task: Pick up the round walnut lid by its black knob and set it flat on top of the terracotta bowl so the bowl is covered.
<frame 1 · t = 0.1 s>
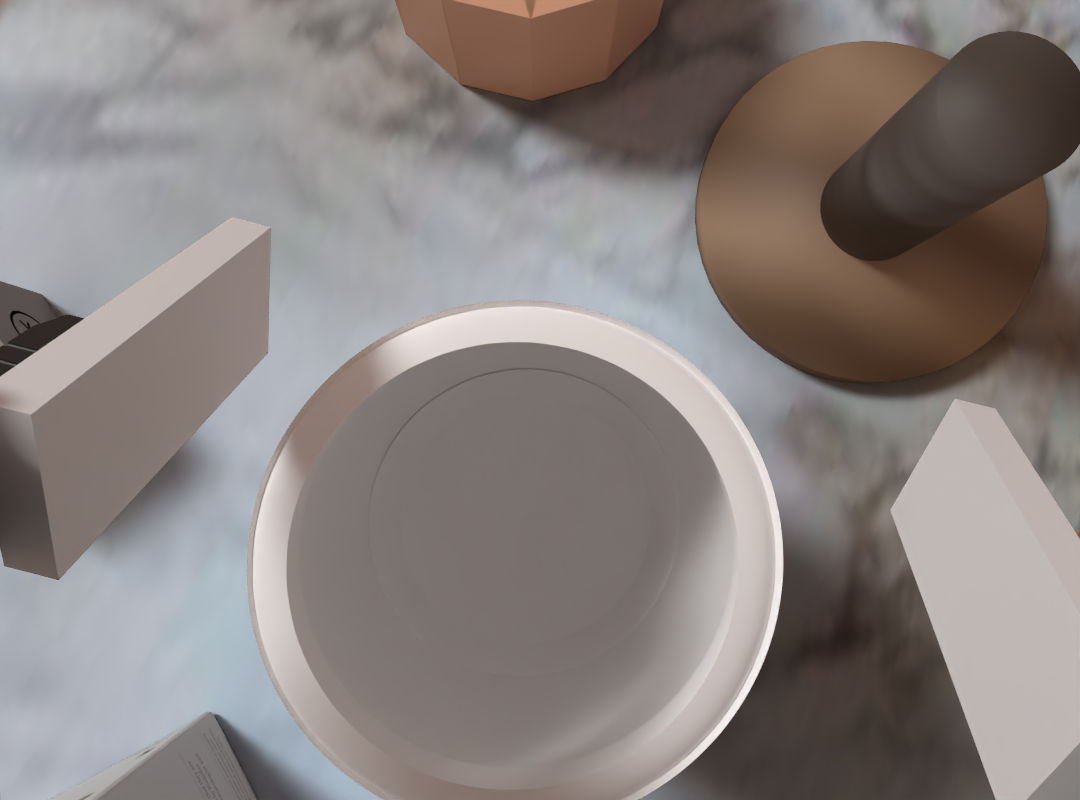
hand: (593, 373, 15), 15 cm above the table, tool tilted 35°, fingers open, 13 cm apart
jar: (527, 508, 31), on the table
lid: (860, 217, 31), on the table
dice cube: (28, 384, 31), on the table
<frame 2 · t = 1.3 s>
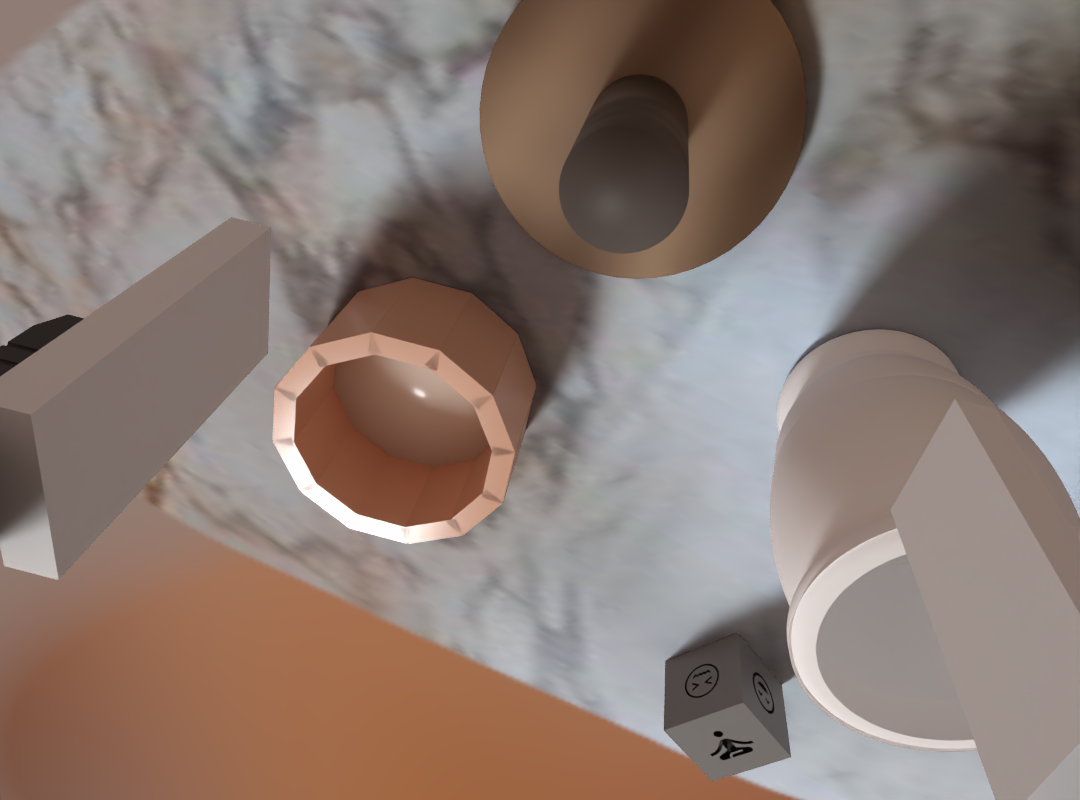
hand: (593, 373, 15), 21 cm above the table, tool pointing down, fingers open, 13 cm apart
bowl: (427, 381, 41), on the table
jar: (865, 404, 38), on the table
lid: (639, 120, 33), on the table
dice cube: (723, 669, 49), on the table
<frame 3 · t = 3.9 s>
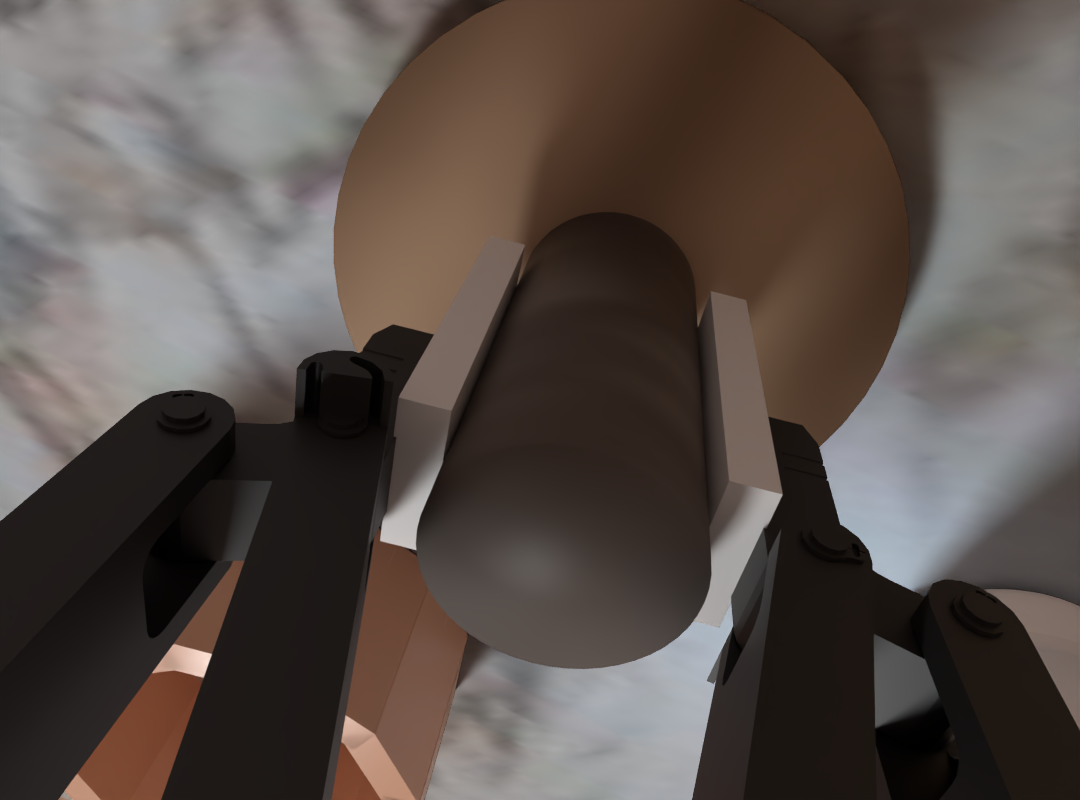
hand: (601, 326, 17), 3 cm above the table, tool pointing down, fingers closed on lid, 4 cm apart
bowl: (306, 623, 28), on the table
jar: (973, 679, 25), on the table
lid: (610, 276, 19), on the table, touching gripper
when the fingers open (10 cm above the table, at t = 8.8 s): lid drops 1 cm, resting on bowl.
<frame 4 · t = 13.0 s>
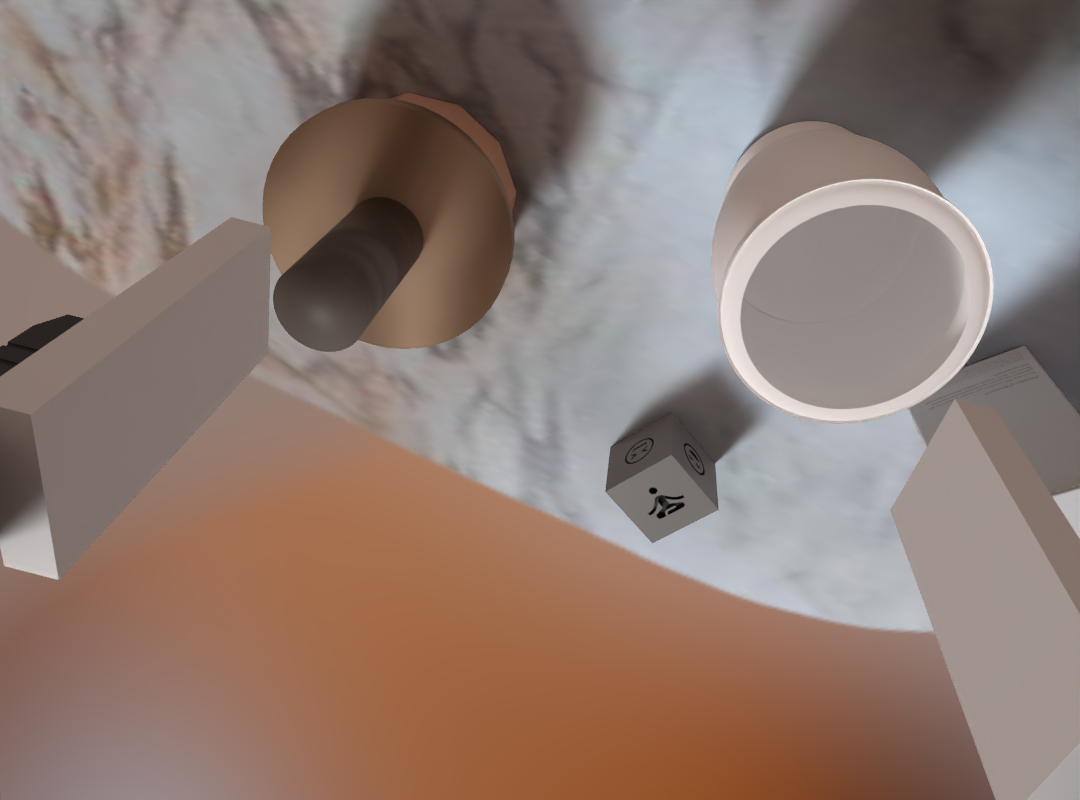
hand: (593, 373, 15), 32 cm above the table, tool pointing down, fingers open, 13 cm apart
bowl: (421, 194, 47), on the table
jar: (800, 198, 44), on the table
lid: (392, 227, 42), point 6 cm above the table, touching bowl
dice cube: (662, 453, 55), on the table
supplement box: (976, 411, 50), on the table
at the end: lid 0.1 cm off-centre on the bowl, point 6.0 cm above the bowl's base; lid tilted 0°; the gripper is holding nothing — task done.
